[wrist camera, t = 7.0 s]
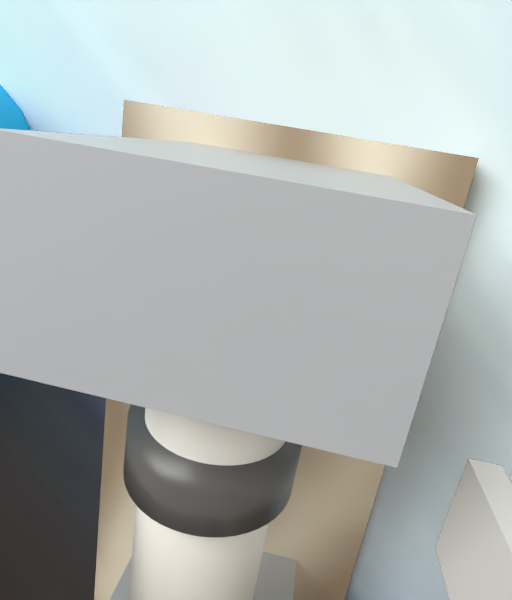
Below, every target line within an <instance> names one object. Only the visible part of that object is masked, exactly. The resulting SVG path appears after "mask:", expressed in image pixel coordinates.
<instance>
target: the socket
mask: <svg viewBox="0 0 512 600" xmlns="http://www.w3.org/2000/svg"><path fill="white" fill-rule="evenodd" d="M476 216H477V215H476V214H474V213H472V212H469V211H467V210H465V209H463V208H461V207H458V206H456V205H454V204H452V203H449V202H447V201H445V200H443V199H441V198H438V197H436V196H434V195H432V194H429V193H427V192H425V191H423V190H421V189H418V188H416V187H414V186H412V185H409V184H407V183H405V182H403V181H401V180H398V179H396V178H394V177H391V176H385V175H380V174H374V173H368V172H362V171H356V170H350V169H345V168H339V167H333V166H327V165H321V164H316V163H310V162H304V161H298V160H292V159H287V158H281V157H275V156H269V155H263V154H257V153H252V152H246V151H240V150H234V149H228V148H223V147H217V146H211V145H205V144H199V143H194V142H185V141H171V140H157V139H143V138H129V137H114V136H100V135H86V134H72V133H58V132H44V131H30V130H16V129H2V128H0V373H3V374H7V375H12V376H16V377H20V378H24V379H28V380H32V381H37V382H41V383H45V384H49V385H53V386H57V387H62V388H66V389H70V390H74V391H78V392H82V393H87V394H91V395H95V396H99V397H103V398H107V399H112V400H116V401H120V402H124V403H128V404H132V405H137V406H141V407H145V408H149V409H153V410H158V411H162V412H166V413H170V414H174V415H178V416H183V417H187V418H191V419H195V420H199V421H203V422H208V423H212V424H216V425H220V426H224V427H228V428H233V429H237V430H241V431H245V432H249V433H253V434H258V435H262V436H266V437H270V438H274V439H278V440H283V441H287V442H291V443H295V444H299V445H303V446H308V447H312V448H316V449H320V450H324V451H329V452H333V453H337V454H341V455H345V456H349V457H354V458H358V459H362V460H366V461H370V462H374V463H379V464H383V465H387V466H391V467H395V468H397V467H398V464H399V461H400V457H401V454H402V451H403V448H404V445H405V442H406V438H407V435H408V432H409V429H410V426H411V423H412V419H413V416H414V413H415V410H416V407H417V404H418V400H419V397H420V394H421V391H422V388H423V385H424V381H425V378H426V375H427V372H428V369H429V365H430V362H431V359H432V356H433V353H434V350H435V346H436V343H437V340H438V337H439V334H440V331H441V327H442V324H443V321H444V318H445V315H446V312H447V308H448V305H449V302H450V299H451V296H452V293H453V289H454V286H455V283H456V280H457V277H458V274H459V270H460V267H461V264H462V261H463V258H464V254H465V251H466V248H467V245H468V242H469V239H470V235H471V232H472V229H473V226H474V223H475V220H476Z"/></svg>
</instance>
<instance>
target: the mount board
mask: <svg viewBox="0 0 512 600" xmlns="http://www.w3.org/2000/svg"><path fill="white" fill-rule="evenodd" d="M122 137H129V138H143V139H157V140H171V141H185V142H194V143H199V144H205V145H211V146H217V147H223V148H228V149H234V150H240V151H246V152H252V153H257V154H263V155H269V156H275V157H281V158H287V159H292V160H298V161H304V162H310V163H316V164H321V165H327V166H333V167H339V168H345V169H350V170H356V171H362V172H368V173H374V174H380V175H385V176H391V177H394V178H396V179H398V180H401V181H403V182H405V183H407V184H409V185H412V186H414V187H416V188H418V189H421V190H423V191H425V192H427V193H429V194H432V195H434V196H436V197H438V198H441V199H443V200H445V201H447V202H449V203H452V204H454V205H456V206H458V207H461V208H464V205H465V201H466V198H467V195H468V192H469V188H470V185H471V182H472V178H473V175H474V172H475V169H476V165H477V162H478V159H479V158H474V157H468V156H462V155H456V154H450V153H444V152H438V151H432V150H426V149H419V148H413V147H407V146H401V145H395V144H389V143H383V142H377V141H371V140H365V139H359V138H353V137H346V136H340V135H334V134H328V133H322V132H316V131H310V130H304V129H298V128H292V127H286V126H280V125H274V124H267V123H261V122H255V121H249V120H243V119H237V118H231V117H225V116H219V115H213V114H207V113H201V112H194V111H188V110H182V109H176V108H170V107H164V106H158V105H152V104H146V103H140V102H134V101H128V100H124V110H123V127H122ZM130 405H131V404H128V403H124V402H120V401H116V400H112V399H107V398H106V411H105V427H104V444H103V461H102V477H101V494H100V511H99V528H98V544H97V561H96V578H95V594H94V600H110V598H111V596H112V594H113V592H114V590H115V588H116V586H117V584H118V582H119V580H120V578H121V576H122V574H123V572H124V570H125V568H126V566H127V564H128V563H129V561H130V559H131V557H132V548H133V537H134V526H135V516H136V504H135V503H134V502H133V500H132V499H131V497H130V496H129V494H128V491H127V489H126V487H125V483H124V476H123V468H124V455H125V443H126V430H127V417H128V411H129V408H130ZM384 468H385V465H383V464H379V463H374V462H370V461H366V460H362V459H358V458H354V457H349V456H345V455H341V454H337V453H333V452H329V451H324V450H320V449H316V448H312V447H308V446H303V445H302V448H301V453H300V457H299V462H298V466H297V470H296V475H295V479H294V483H293V488H292V492H291V496H290V499H289V501H288V503H287V505H286V507H285V508H284V509H283V511H282V512H281V513H280V514H279V515H278V516H277V517H276V518H275V519H274V520H272V521H271V522H270V523H269V525H268V530H267V534H266V539H265V544H264V548H263V551H264V552H268V553H271V554H275V555H279V556H283V557H286V558H290V559H294V560H297V563H296V572H295V582H294V592H293V600H344V599H345V596H346V593H347V589H348V586H349V583H350V580H351V576H352V573H353V570H354V566H355V563H356V560H357V557H358V553H359V550H360V547H361V543H362V540H363V537H364V533H365V530H366V527H367V524H368V520H369V517H370V514H371V510H372V507H373V504H374V501H375V497H376V494H377V491H378V487H379V484H380V481H381V478H382V474H383V471H384Z"/></svg>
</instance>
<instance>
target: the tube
mask: <svg viewBox="0 0 512 600" xmlns="http://www.w3.org/2000/svg"><path fill="white" fill-rule="evenodd" d="M301 448H302V445H299V444H295V443H291V442H287V441H283V440H278V439H274V438H270V437H266V436H262V435H258V434H253V433H249V432H245V431H241V430H237V429H233V428H228V427H224V426H220V425H216V424H212V423H208V422H203V421H199V420H195V419H191V418H187V417H183V416H178V415H174V414H170V413H166V412H162V411H158V410H153V409H149V408H145V407H141V406H137V405H132V404H131V405H130V408H129V411H128V417H127V430H126V443H125V455H124V468H123V476H124V483H125V487H126V489H127V491H128V494H129V496H130V497H131V499H132V500H133V502H134V503H135V504H136V516H135V526H134V537H133V548H132V559H131V570H130V580H129V591H128V600H253V595H254V590H255V586H256V581H257V576H258V572H259V567H260V562H261V558H262V553H263V548H264V544H265V539H266V534H267V530H268V525H269V523H270V522H271V521H272V520H274V519H275V518H276V517H277V516H278V515H279V514H280V513H281V512H282V511H283V509H284V508H285V507H286V505H287V503H288V501H289V499H290V496H291V492H292V488H293V483H294V479H295V475H296V470H297V466H298V462H299V457H300V453H301Z"/></svg>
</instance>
